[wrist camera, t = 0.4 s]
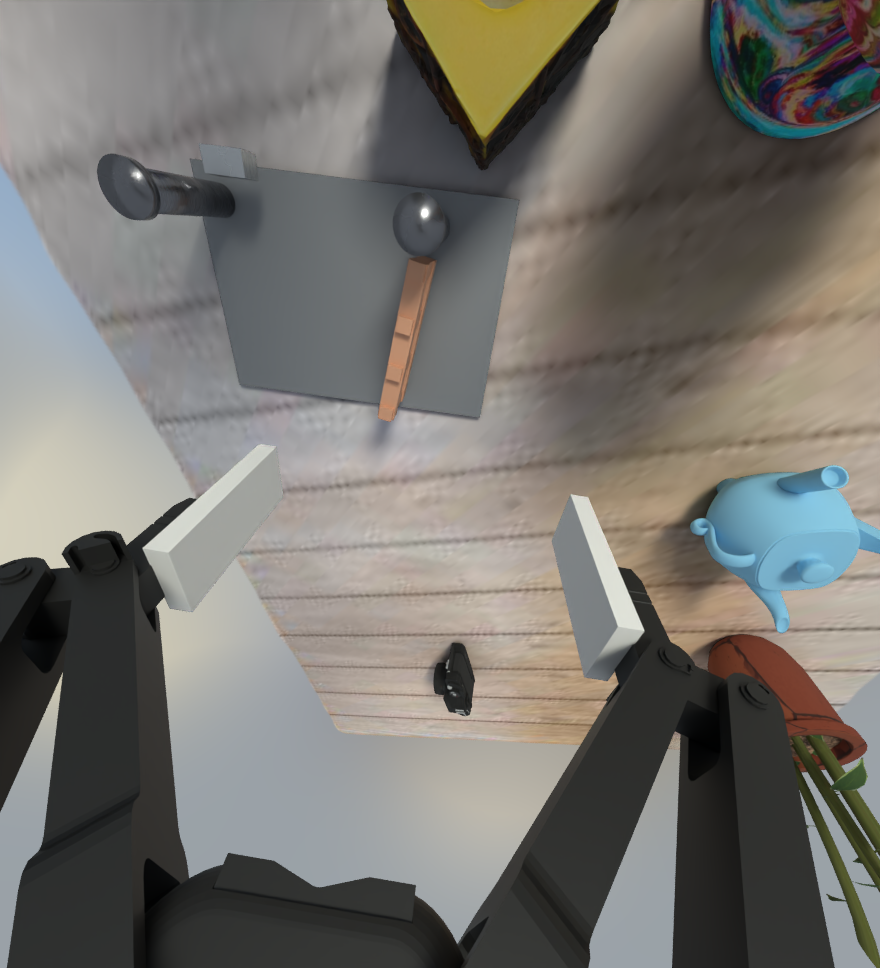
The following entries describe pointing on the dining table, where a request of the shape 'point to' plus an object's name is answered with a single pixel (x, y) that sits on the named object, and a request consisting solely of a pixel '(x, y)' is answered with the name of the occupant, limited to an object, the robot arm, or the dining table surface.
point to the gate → (406, 333)
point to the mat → (355, 287)
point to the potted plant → (815, 758)
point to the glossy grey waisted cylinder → (420, 224)
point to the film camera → (455, 681)
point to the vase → (797, 63)
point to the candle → (496, 58)
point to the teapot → (785, 532)
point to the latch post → (174, 185)
